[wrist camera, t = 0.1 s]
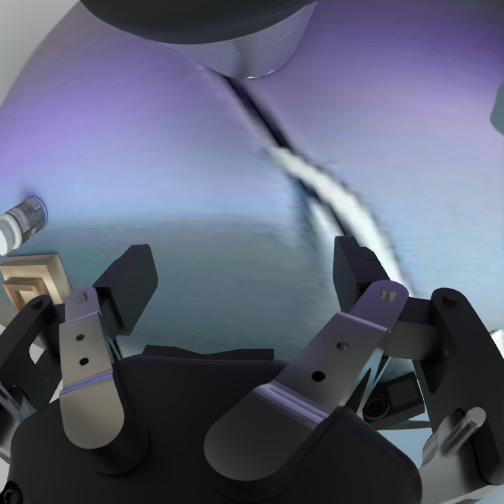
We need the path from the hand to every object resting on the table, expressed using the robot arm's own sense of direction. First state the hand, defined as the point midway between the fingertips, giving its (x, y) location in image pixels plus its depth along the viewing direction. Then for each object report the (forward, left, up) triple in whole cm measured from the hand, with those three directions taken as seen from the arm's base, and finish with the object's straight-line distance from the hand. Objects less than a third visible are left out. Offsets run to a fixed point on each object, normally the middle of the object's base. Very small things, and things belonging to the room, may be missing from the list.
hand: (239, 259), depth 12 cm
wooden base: (+15, -35, -17) cm, 42 cm away
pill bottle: (+2, -30, -17) cm, 35 cm away
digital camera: (+37, +20, -18) cm, 45 cm away
